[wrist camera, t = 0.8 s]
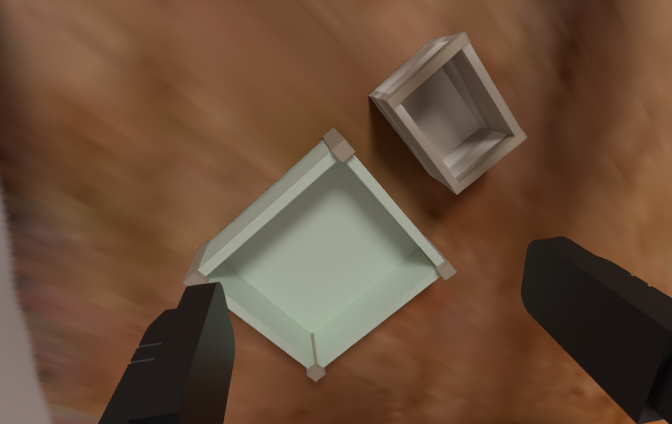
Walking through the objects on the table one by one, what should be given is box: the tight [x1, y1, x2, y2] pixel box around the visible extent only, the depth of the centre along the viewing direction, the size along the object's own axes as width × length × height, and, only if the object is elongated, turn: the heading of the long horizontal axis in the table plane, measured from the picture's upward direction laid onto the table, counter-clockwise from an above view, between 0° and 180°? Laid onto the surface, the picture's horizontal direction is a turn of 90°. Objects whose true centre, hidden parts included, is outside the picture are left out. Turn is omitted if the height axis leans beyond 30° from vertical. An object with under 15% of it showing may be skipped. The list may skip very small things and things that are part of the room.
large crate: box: [183, 127, 457, 382], centre depth 31 cm, size 16×15×5 cm
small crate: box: [369, 32, 527, 195], centre depth 28 cm, size 6×9×6 cm
